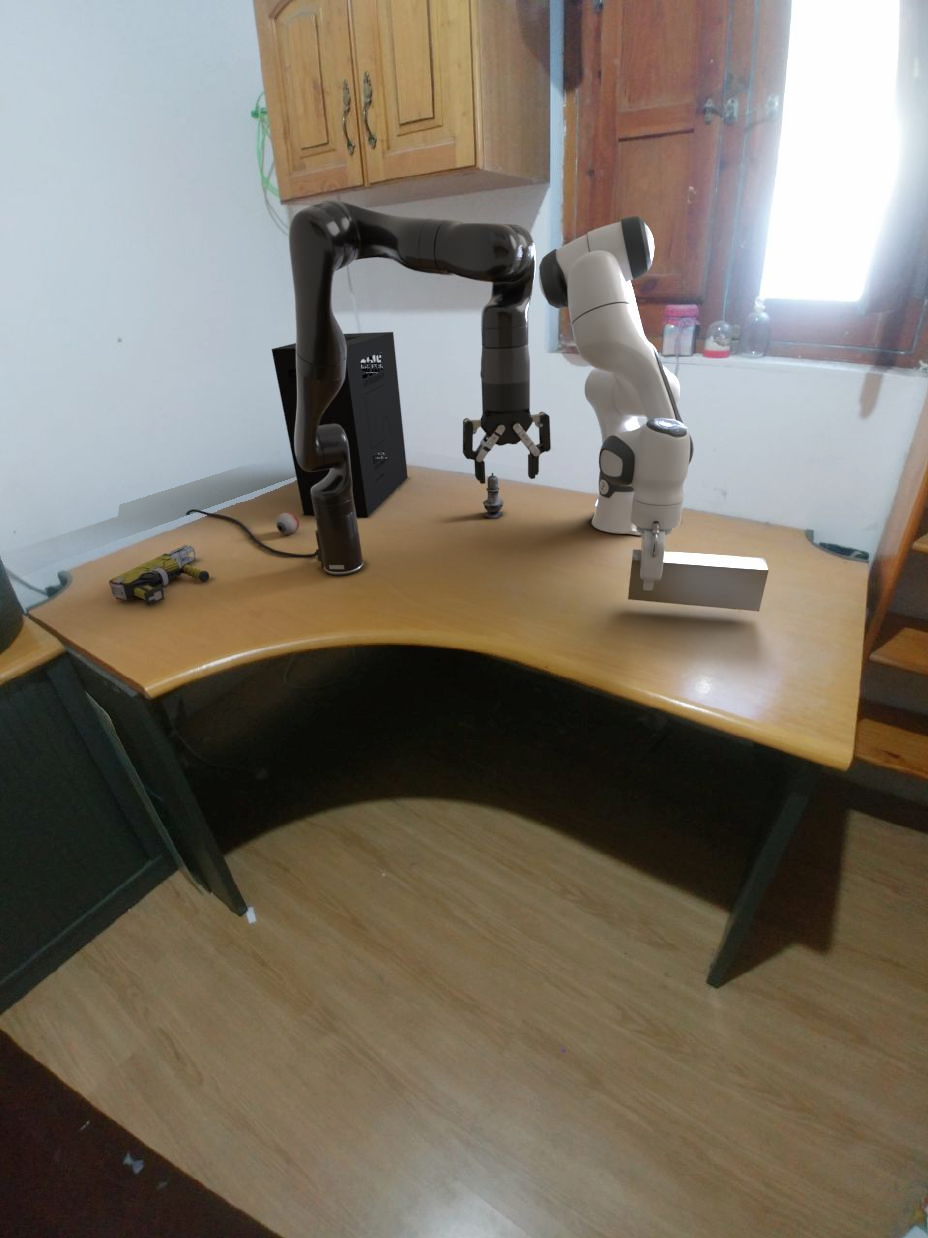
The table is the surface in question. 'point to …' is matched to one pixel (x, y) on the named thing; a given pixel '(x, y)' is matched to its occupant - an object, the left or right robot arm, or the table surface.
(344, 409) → the cardboard box
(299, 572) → the table surface
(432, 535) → the table surface
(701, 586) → the bar
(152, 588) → the toy gun
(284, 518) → the eyeball
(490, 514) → the salt shaker
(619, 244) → the right robot arm
